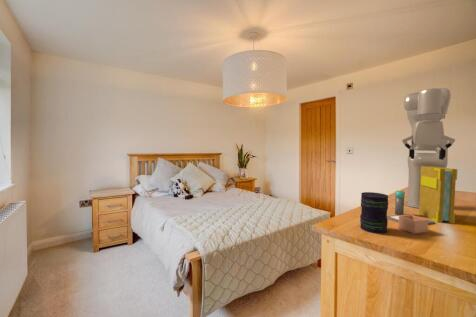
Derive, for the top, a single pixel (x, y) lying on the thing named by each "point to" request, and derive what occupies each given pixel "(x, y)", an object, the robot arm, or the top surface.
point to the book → (438, 193)
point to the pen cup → (413, 224)
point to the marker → (399, 202)
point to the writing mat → (396, 217)
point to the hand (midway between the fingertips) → (426, 159)
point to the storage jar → (374, 212)
